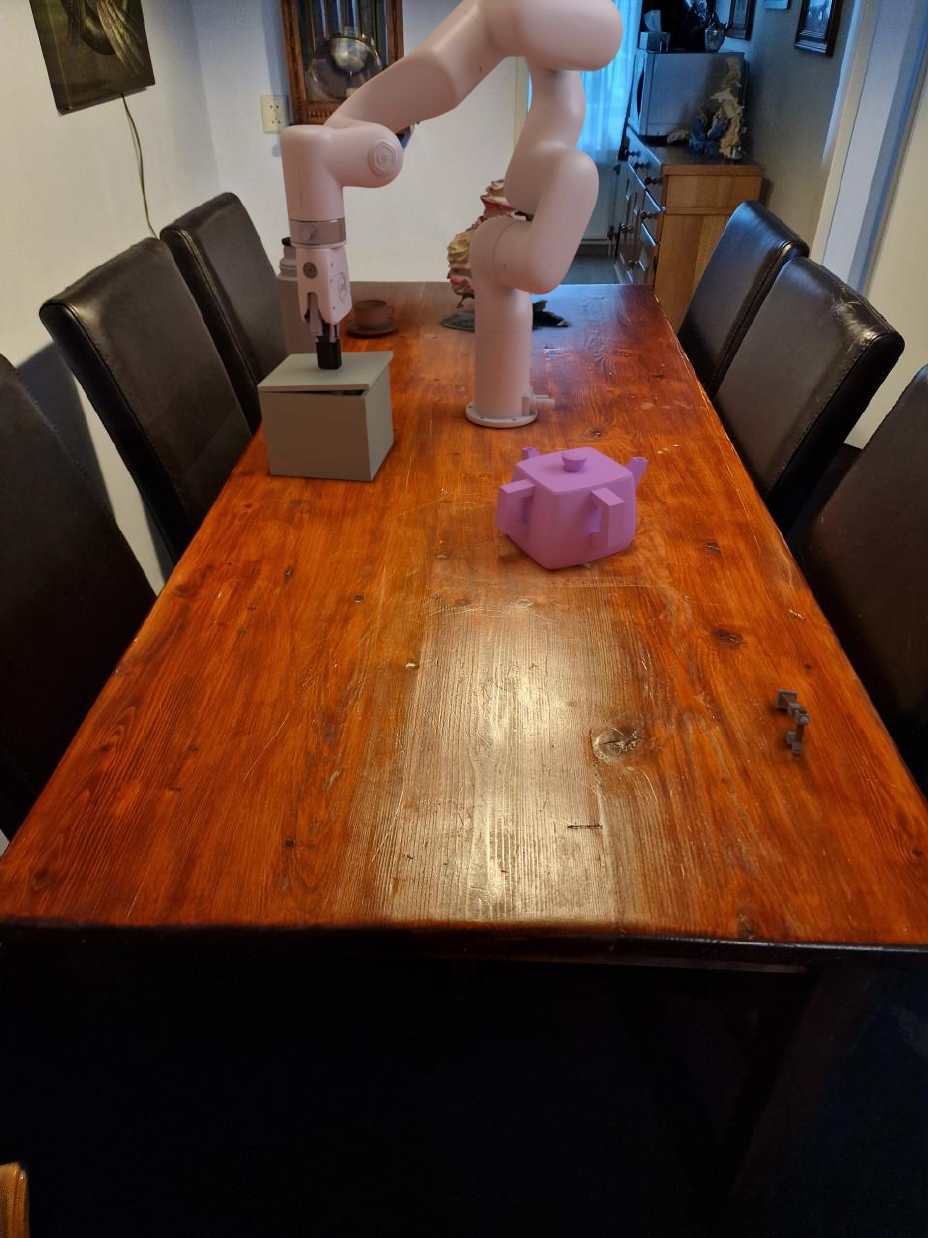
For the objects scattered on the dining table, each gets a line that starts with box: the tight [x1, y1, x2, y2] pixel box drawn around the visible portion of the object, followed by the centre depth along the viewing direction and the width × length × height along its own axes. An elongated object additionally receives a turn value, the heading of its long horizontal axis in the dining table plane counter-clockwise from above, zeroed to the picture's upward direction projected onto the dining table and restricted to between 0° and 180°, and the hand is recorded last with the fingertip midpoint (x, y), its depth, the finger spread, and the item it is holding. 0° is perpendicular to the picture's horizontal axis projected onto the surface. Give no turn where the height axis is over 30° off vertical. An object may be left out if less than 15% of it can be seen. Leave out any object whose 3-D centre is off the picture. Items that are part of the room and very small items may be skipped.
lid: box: [256, 350, 394, 393], centre depth 121 cm, size 17×15×1 cm
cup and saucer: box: [344, 299, 399, 336], centre depth 184 cm, size 12×12×6 cm
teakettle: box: [494, 446, 649, 570], centre depth 104 cm, size 17×17×12 cm
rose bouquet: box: [440, 177, 569, 332], centre depth 183 cm, size 26×29×30 cm
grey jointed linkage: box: [774, 689, 810, 758], centre depth 77 cm, size 2×8×4 cm, turn 169°
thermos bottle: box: [276, 236, 317, 358], centre depth 140 cm, size 8×8×28 cm
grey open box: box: [257, 364, 394, 482], centre depth 125 cm, size 16×15×13 cm
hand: (330, 366), depth 121 cm, fingers closed
